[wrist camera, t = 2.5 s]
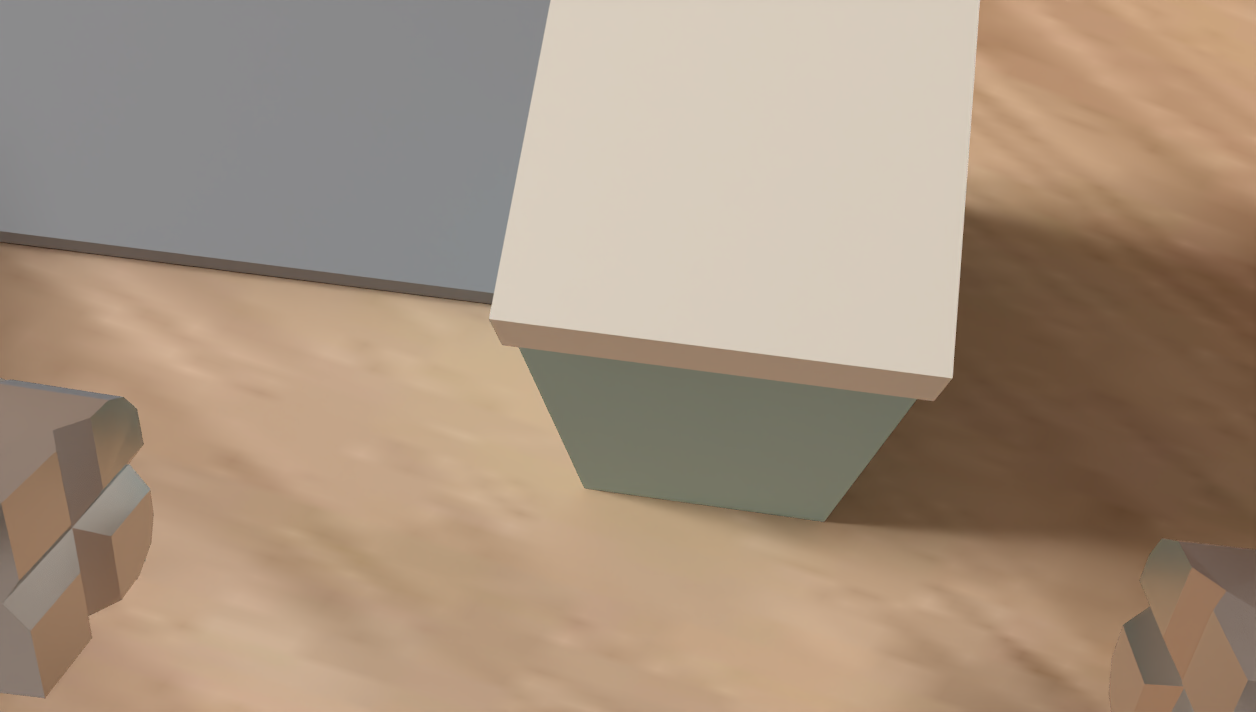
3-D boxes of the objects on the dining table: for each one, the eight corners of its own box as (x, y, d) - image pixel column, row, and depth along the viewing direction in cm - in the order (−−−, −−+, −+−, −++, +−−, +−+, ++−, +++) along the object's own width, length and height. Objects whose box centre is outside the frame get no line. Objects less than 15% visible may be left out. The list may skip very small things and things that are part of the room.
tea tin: (863, 185, 21) (993, -192, 12) (829, 528, 19) (952, 378, 10) (632, 159, 21) (594, -227, 12) (577, 493, 19) (488, 318, 11)
